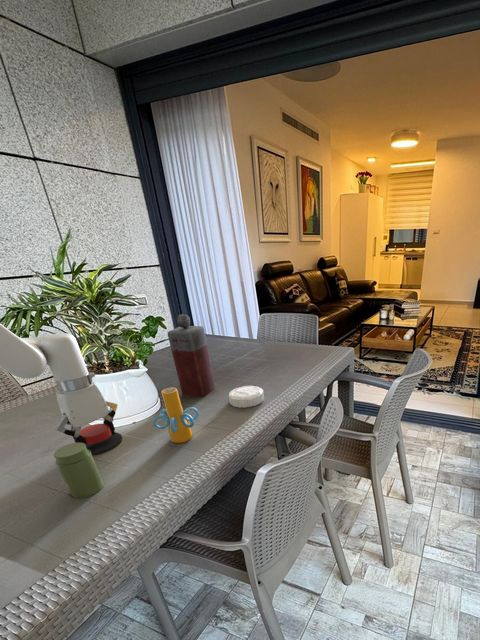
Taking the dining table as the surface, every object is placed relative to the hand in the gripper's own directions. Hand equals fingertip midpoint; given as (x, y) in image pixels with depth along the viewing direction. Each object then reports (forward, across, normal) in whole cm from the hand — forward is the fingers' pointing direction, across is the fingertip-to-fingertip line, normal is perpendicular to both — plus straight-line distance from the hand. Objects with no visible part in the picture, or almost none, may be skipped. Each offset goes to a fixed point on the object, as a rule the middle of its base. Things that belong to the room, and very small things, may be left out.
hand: (97, 440), depth 100 cm
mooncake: (+1, -42, +19) cm, 46 cm away
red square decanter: (+1, -40, -4) cm, 40 cm away
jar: (+1, +13, +18) cm, 22 cm away
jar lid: (-3, 0, 0) cm, 3 cm away
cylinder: (+1, -14, +19) cm, 23 cm away
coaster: (+1, 0, 0) cm, 1 cm away
